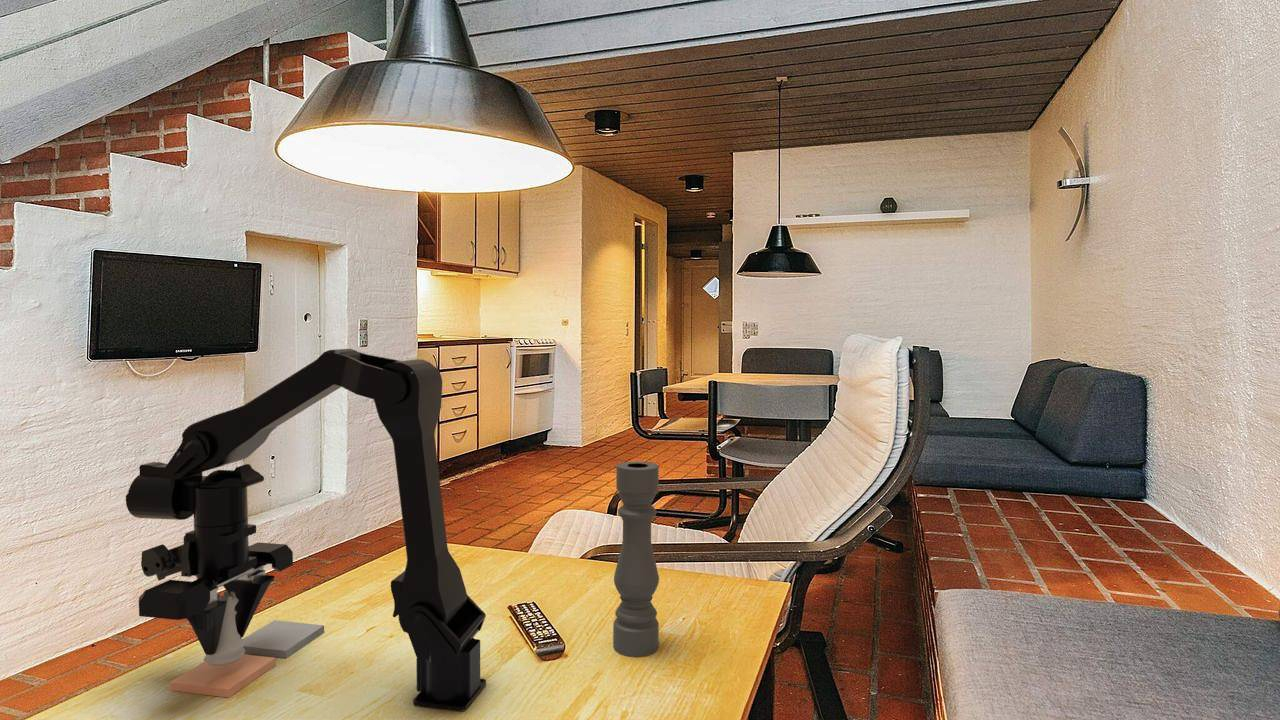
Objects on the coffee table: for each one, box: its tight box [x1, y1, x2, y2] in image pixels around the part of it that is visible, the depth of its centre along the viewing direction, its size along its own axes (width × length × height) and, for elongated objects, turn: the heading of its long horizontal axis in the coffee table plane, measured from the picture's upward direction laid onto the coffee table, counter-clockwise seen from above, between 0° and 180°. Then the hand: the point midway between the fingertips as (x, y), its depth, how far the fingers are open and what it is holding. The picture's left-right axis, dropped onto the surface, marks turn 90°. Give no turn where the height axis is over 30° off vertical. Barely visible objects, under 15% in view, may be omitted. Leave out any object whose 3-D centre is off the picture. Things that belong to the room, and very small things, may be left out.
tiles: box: [169, 619, 325, 698], centre depth 93 cm, size 8×18×1 cm, turn 169°
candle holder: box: [612, 460, 660, 658], centre depth 97 cm, size 6×6×25 cm
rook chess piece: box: [203, 590, 245, 666], centre depth 88 cm, size 4×4×8 cm
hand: (224, 645), depth 88 cm, fingers closed on rook chess piece, 4 cm apart
